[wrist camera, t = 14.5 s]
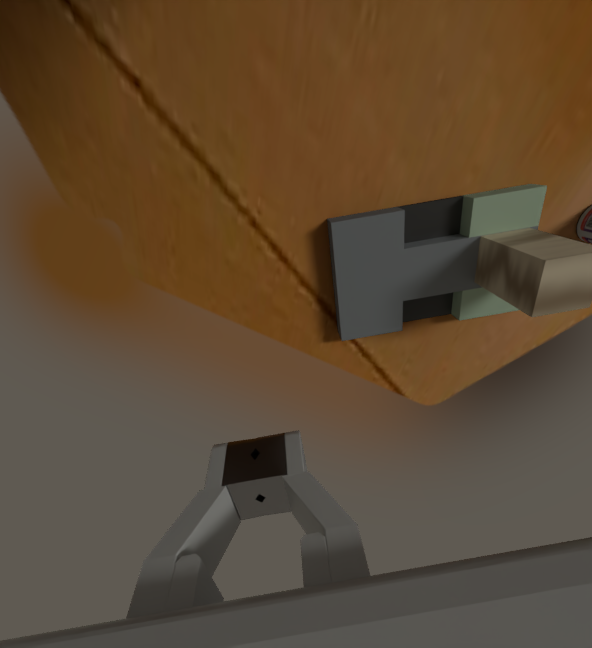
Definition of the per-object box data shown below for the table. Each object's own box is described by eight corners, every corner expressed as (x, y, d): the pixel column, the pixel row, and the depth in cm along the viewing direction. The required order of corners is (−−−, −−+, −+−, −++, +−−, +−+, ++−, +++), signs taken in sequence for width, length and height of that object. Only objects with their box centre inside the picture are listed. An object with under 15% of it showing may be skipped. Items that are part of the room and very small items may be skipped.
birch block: (480, 236, 38) (545, 260, 29) (529, 227, 38) (609, 249, 29) (474, 282, 41) (531, 317, 32) (519, 274, 41) (589, 307, 32)
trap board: (327, 218, 38) (331, 222, 35) (530, 183, 38) (547, 185, 36) (338, 331, 45) (341, 340, 43) (507, 302, 46) (519, 310, 43)
